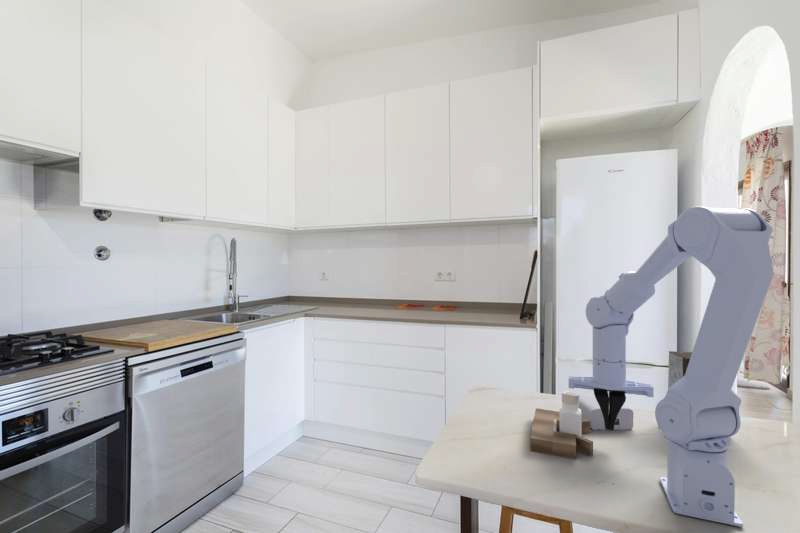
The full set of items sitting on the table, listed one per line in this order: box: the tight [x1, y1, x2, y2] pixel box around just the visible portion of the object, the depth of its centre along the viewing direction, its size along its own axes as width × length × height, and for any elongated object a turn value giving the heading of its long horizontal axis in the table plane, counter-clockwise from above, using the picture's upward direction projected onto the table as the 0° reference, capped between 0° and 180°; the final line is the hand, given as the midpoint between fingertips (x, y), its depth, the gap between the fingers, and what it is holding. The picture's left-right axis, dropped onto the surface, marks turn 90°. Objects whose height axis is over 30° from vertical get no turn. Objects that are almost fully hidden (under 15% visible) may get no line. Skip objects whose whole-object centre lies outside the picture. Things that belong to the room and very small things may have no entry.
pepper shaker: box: [559, 390, 583, 437], centre depth 79 cm, size 4×4×10 cm
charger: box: [578, 393, 634, 431], centre depth 91 cm, size 5×9×15 cm
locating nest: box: [529, 408, 594, 460], centre depth 79 cm, size 16×11×2 cm
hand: (609, 428), depth 76 cm, fingers closed
